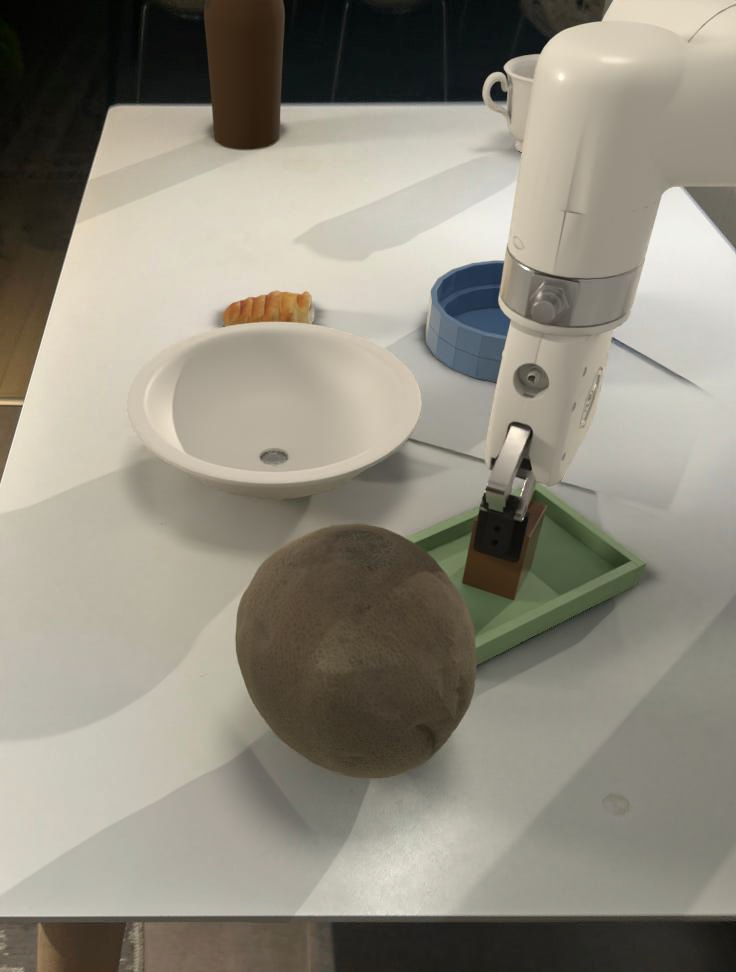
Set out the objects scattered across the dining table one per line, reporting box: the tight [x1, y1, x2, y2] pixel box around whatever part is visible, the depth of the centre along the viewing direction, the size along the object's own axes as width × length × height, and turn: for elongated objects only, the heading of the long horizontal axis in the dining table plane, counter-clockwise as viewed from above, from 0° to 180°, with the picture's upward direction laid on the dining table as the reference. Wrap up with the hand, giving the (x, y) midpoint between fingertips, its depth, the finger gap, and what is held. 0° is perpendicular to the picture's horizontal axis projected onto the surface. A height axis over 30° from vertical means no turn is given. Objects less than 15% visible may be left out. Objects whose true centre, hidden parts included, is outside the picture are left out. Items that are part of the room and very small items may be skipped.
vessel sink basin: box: [126, 322, 423, 500], centre depth 80 cm, size 24×24×7 cm
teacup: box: [482, 53, 541, 153], centre depth 128 cm, size 12×15×10 cm
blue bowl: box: [424, 259, 511, 383], centre depth 94 cm, size 16×16×5 cm
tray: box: [405, 482, 647, 666], centre depth 71 cm, size 18×12×2 cm, turn 121°
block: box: [462, 496, 547, 600], centre depth 69 cm, size 4×4×6 cm
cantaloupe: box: [234, 523, 477, 780], centre depth 56 cm, size 14×14×15 cm
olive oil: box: [203, 0, 286, 150], centre depth 127 cm, size 11×11×25 cm
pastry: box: [221, 290, 315, 327], centre depth 97 cm, size 9×7×4 cm
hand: (519, 513), depth 67 cm, fingers open, 9 cm apart
